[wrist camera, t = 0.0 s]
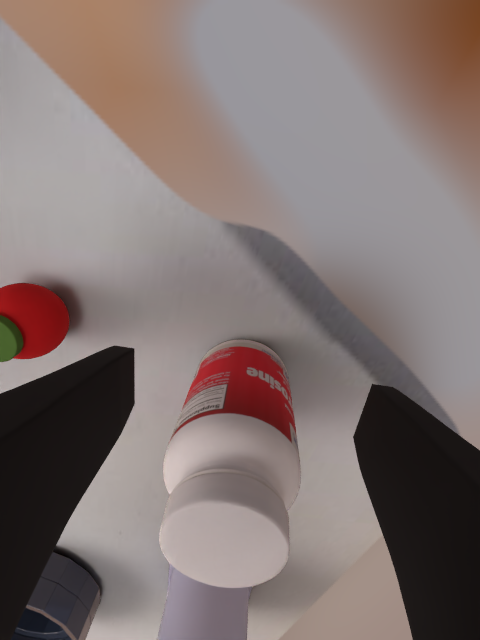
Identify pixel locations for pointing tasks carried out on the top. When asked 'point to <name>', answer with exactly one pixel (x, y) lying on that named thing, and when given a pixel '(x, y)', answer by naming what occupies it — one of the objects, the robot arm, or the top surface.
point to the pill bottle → (232, 469)
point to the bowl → (60, 603)
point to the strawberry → (30, 321)
